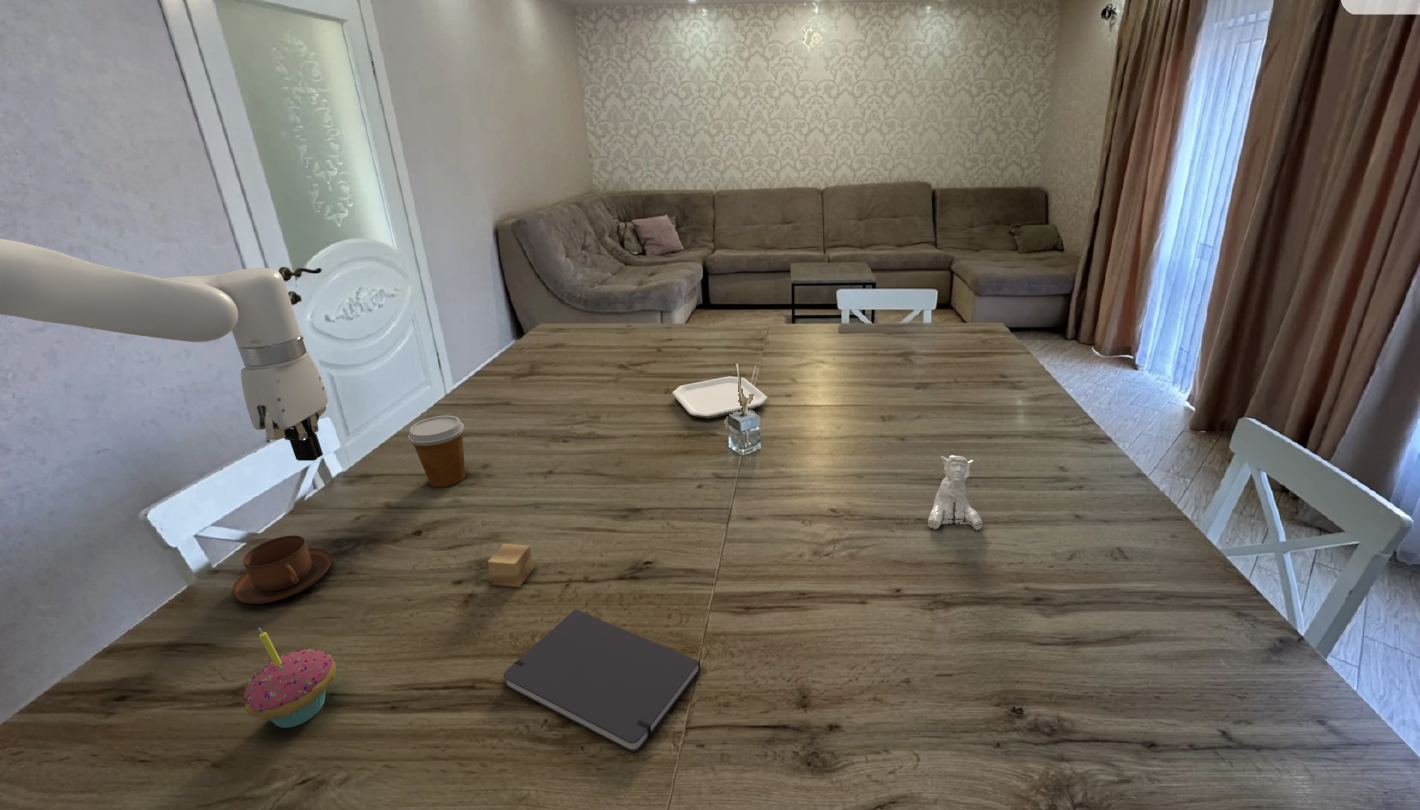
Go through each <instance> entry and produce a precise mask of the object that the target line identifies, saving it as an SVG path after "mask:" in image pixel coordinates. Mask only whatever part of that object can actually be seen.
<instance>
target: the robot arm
mask: <svg viewBox="0 0 1420 810" xmlns="http://www.w3.org/2000/svg"><path fill="white" fill-rule="evenodd" d="M0 315H1V316H2V315H3V316H9V317H15V318H16V317H17V318H21V319H22V318H23V319H27V320H33V321H37V322H43V323H44V322H45V323H51V324H61V325H67V326H77V327H81V328H87V329H94V330H99V331H107V332H113V333H119V334H125V335H133V336H139V337H148V338H155V339H164V340H172V341H180V342H188V343H206V342H207V343H208V342H212V341H216V340H219V339H221V338H223V337H225V336H227V335H228V334H229V333H231V332H232V335H233V339H234V341H235V344H236V346H237V349H238V352H239V355H240V357H241V361H242V364H243V365H244V367H243V368H242V369H241V368H240V379H241V386H242V393H243V397H244V402H245V404H246V405H245V406H246V409H247V412H248V413H247V414H248V415H249V419H250V422H251V424H252V426H253V428H254V429H255V430H258V431H262V430H265V436H266V439H267V441H278V440H281V439H284V440H285V441H289V443H290V446H291V448H292V451H293V454H294V457H295V460H296V461H298V462H300V461H301V462H303V461H304V462H305V461H306V462H311V461H312V462H314V461H317V460H318V459H319V458H321V457H322V456H323V455H324V452H323V449H322V447H321V444H320V441H319V438H318V434H317V433H318V432H319V424H318V422H319V419H320V418H321V416H322V415H323V414H324V413H325V412H326V410H327V404H328V402H329V400H328V395H327V390H326V387H325V385H324V384H325V383H324V381H323V379H322V375H321V374H320V371H319V369H318V367H317V365H316V363H315V361H314V359H313V358H312V356H311V355H310V353H309V351H307V348H306V345H305V341H304V336H303V335H302V333H301V329H300V325H299V323H298V320H297V317H296V314H295V310H294V307H293V305H292V301H291V297H290V295H289V292H288V289H287V285H286V282H285V280H284V277H283V275H282V274H281V273H280V271H278V270H276V269H274V268H270V267H252V268H251V267H249V268H242V269H235V270H231V271H227V272H224V273H222V274H221V273H220V274H209V275H208V274H207V275H190V276H189V275H188V276H171V277H166V278H163V277H158V276H152V275H149V274H143V273H139V272H133V271H129V270H125V269H124V270H123V269H119V268H116V267H115V268H114V267H111V266H106V265H102V264H99V263H95V262H92V261H87V260H84V259H81V258H77V257H74V256H72V255H69V254H66V253H63V252H60V251H58V250H54V249H51V248H48V247H47V248H46V247H42V246H39V245H35V244H32V243H31V244H30V243H26V242H21V241H16V240H11V239H5V238H0Z"/></svg>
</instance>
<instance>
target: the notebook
mask: <svg viewBox="0 0 1420 810" xmlns="http://www.w3.org/2000/svg"><path fill="white" fill-rule="evenodd" d="M700 672H701V662H700V660H697V659H695V658H692V657H690V656H688V655H686V654H683V653H680V652H678V651H676V650H673V649H671V648H668V647H667V646H664V645H661V644H660V643H658V642H655V641H652V640H650V639H647V638H645V637H643V636H640V635H638V634H635V633H633V632H631V631H628V630H626V629H624V628H621V627H620V626H616V625H615V624H612V623H609V622H608V621H605V620H602V619H600V618H598V617H595V616H593V615H591V614H589V613H586V612H584V611H580V610H579V609H576V608H575V609H573V610H572V611H571V612H570V613H569V614H568V615H567V616H566V617H564V618H563V619H562V620H561V621H560V622H559V623H558V624H557V625H555V626H554V627H553V628H552V629H551V630H550V631H549V632H547V634H545V635H544V636H543V637H542V638H541V639H540V640H539V641H538V642H536V643H535V644H534V645H533V646H532V647H531V648H530V649H529V650H528V651H526V652H525V653H524V654H523V655H522V656H521V657H520V658H518V659H517V660H516V661H514V663H513V664H512V665H511V666H510V667H508V668H507V669H506V670H505V671H504V673H503V678H504V679H505V683H504V684H505V687H506V688H508V689H510V690H512V691H513V692H515V693H518V694H519V695H522V696H523V697H525V698H527V699H529V700H531V701H533V702H535V703H537V704H539V705H540V706H542V707H545V708H547V709H548V710H550V711H552V712H554V713H557V714H558V715H560V716H561V717H563V718H565V719H567V720H569V721H571V722H573V723H575V724H577V725H579V726H581V727H583V728H585V729H587V730H589V731H591V732H593V733H594V734H596V735H598V736H600V737H602V738H604V739H605V740H608V741H610V742H611V743H613V744H615V745H617V746H618V747H621V748H623V749H624V750H626V751H628V752H631V753H636V752H638V751H640V750H641V749H642V747H644V745H645V744H646V742H647V741H648V740H649V739H650V737H651V736H652V735H653V733H654V732H655V731H656V729H657V728H658V726H659V725H660V724H661V723H662V722H663V720H664V719H665V718H666V716H667V715H668V714H669V712H670V711H671V709H672V708H673V707H674V706H675V705H676V703H677V702H678V700H679V699H680V698H681V697H682V695H683V694H684V693H685V691H686V690H687V689H688V687H689V686H690V685H691V683H692V682H693V681H694V679H695V678H696V677H697V675H698V674H699V673H700Z"/></svg>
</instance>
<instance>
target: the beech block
mask: <svg viewBox="0 0 1420 810" xmlns="http://www.w3.org/2000/svg"><path fill="white" fill-rule="evenodd" d="M487 565H488V569H489V570H488V571H489V574H490V579H491V583H492V586H499V587H501V586H502V587H511V588H520V587H521V586H522V584H523V583H524V582H526V579H527V578H528V577H529V575H530V574H531V573H532V572H533V570H534V569H535V567H534V561H533V555H532V551H531V546H530V545H526V544H524V545H523V544H514V543H503V544H502V545H501V546H499V548H498V549H497V551H496V552H495V553H494V554H493V555H492V556H491V557H490V558H489V560H487Z"/></svg>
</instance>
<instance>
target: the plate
mask: <svg viewBox="0 0 1420 810" xmlns="http://www.w3.org/2000/svg"><path fill="white" fill-rule="evenodd" d="M738 377H739V376H731V375H729V376H724V377H718V378H713V379H709V380H702V381H698V382H693V383H687V384H683V385H682V384H681V385H679V386H678V387H677V388H676V389H674V390H673V391H672V393H671V394H672V395H671V396H673V398H675V400H677V402H678V403H679V404H680V405H681V407H683V409H684V410H685V411H686V412H687V413H688V414H689V415H690V416H693V417H696V418H700V419H707V420H709V419H717V418H721V417H725V416H729V415H728V413H731V412H736V411H738V412H739V413H742V412H741V411H740V410H741V408H742V406H740V403H739V402H738V400H739V396H738V394H739V392H738ZM741 388H742V389H743V394H744V396H745V397H746V398H749V394H754V396H753V400H752V401H751V403H750V404H748V405H747V406H748V411H752V410H754V409H757V408H759V407H761V406H763V405H764V404H765V402H766V401H767V400H768V396H767V395H766V394H764V393H763V392H762V391H761V390H760V389H758V388H757V387H756V386H755V385H754V384H753V383H751V382H750V381H749V380H747V379H746V378H745V377H741ZM751 408H752V409H751Z"/></svg>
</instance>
